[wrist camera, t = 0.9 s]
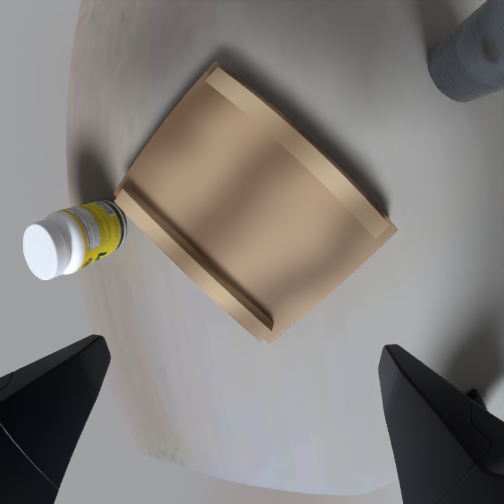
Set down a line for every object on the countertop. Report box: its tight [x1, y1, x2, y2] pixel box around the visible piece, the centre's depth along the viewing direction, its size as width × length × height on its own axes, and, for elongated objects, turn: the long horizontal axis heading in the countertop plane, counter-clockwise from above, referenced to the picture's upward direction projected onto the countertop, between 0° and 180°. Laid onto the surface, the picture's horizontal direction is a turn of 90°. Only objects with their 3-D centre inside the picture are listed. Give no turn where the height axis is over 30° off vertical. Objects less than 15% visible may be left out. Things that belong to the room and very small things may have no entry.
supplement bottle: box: [23, 200, 126, 280], centre depth 21 cm, size 5×5×8 cm
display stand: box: [114, 61, 398, 344], centre depth 20 cm, size 16×12×4 cm
